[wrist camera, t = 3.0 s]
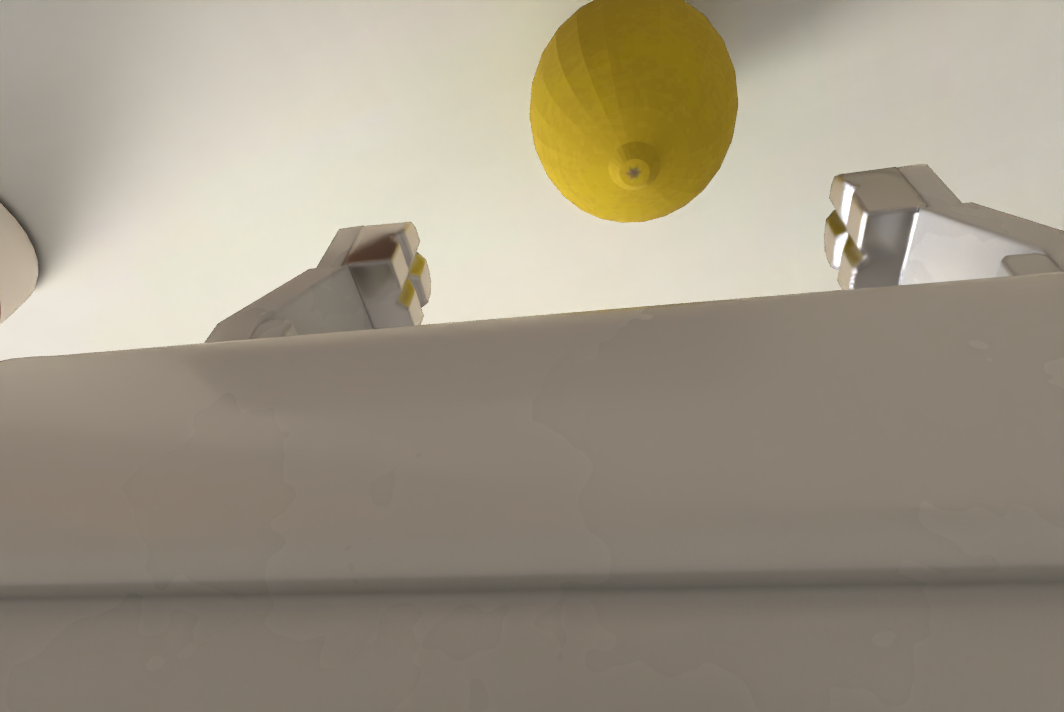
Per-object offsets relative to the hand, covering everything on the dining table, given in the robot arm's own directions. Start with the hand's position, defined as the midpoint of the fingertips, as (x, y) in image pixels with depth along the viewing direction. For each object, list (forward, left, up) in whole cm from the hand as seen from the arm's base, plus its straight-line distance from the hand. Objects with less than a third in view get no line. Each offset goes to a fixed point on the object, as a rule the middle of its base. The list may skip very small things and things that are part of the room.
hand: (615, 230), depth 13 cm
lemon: (0, 0, -11) cm, 11 cm away
